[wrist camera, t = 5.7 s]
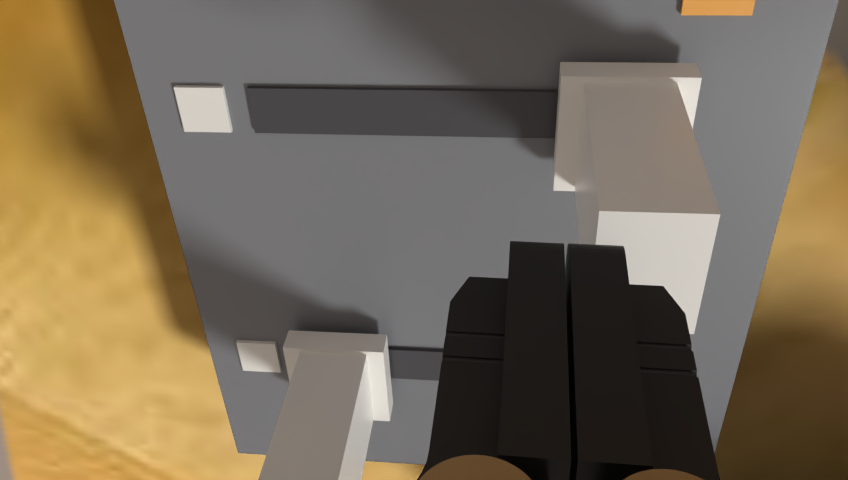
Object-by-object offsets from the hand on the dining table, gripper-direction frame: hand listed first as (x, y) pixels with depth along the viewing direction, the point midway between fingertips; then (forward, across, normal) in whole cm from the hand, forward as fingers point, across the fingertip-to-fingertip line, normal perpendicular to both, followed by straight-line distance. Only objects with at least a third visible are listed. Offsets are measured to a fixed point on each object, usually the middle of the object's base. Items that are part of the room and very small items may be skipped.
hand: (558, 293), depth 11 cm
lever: (+5, +5, +7) cm, 10 cm away
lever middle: (+5, -1, 0) cm, 5 cm away
